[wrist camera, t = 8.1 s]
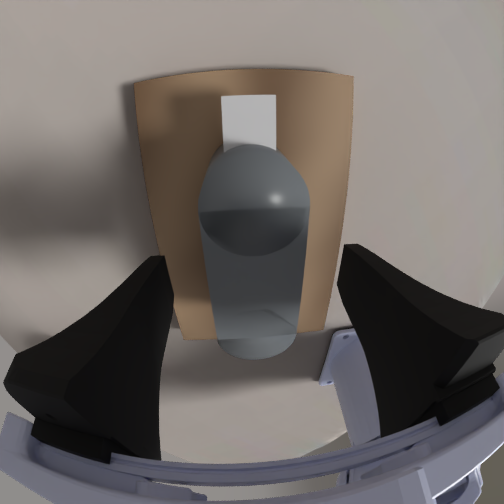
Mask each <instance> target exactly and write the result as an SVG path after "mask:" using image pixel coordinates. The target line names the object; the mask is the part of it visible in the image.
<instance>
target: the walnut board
mask: <svg viewBox="0 0 504 504" xmlns="http://www.w3.org/2000/svg"><path fill="white" fill-rule="evenodd" d="M134 93H135V105H136V116H137V126H138V134H139V142H140V150H141V157H142V164H143V171H144V177H145V183H146V189H147V194H148V200H149V205H150V210H151V216H152V220H153V225H154V230H155V235H156V239H157V244H158V248H159V252H160V256H162V255H165V259H166V264H167V268H168V272H169V276H170V280H171V284H172V288H173V292H174V305H173V306H174V309H175V313H176V316H177V319H178V323H179V326H180V329H181V332H182V335H183V339H184V340H205V339H217V334H216V329H215V323H214V317H213V312H212V306H211V300H210V293H209V287H208V281H207V274H206V267H205V260H204V253H203V246H202V239H201V231H200V223H199V215H198V199H199V195H200V191H201V188H202V184H203V181H204V178H205V175H206V172H207V169H208V166H209V163H210V160H211V158H212V156H213V154H214V152H215V151H216V150H217V149H218V148H219V147H220V146H221V145H222V144H223V127H222V105H221V96H235V95H276V147H277V148H278V150H279V151H280V152H281V153H282V154H283V155H284V156H285V157H286V158H287V160H288V161H289V162H290V163H291V164H292V165H293V167H294V168H295V169H296V170H297V171H298V172H299V174H300V175H301V176H302V178H303V179H304V181H305V183H306V185H307V188H308V191H309V196H310V214H309V226H308V238H307V249H306V259H305V269H304V278H303V287H302V295H301V303H300V311H299V319H298V326H297V333H302V332H310V331H318V330H323V329H324V324H325V320H326V315H327V311H328V306H329V301H330V297H331V292H332V287H333V281H334V276H335V271H336V265H337V259H338V253H339V247H340V241H341V234H342V227H343V220H344V213H345V205H346V196H347V187H348V177H349V167H350V154H351V140H352V122H353V76H349V75H342V74H335V73H326V72H317V71H305V70H288V69H235V70H218V71H206V72H197V73H188V74H181V75H174V76H168V77H162V78H156V79H151V80H146V81H141V82H136V83H134Z"/></svg>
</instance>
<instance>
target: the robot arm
mask: <svg viewBox="0 0 504 504" xmlns="http://www.w3.org/2000/svg"><path fill="white" fill-rule="evenodd" d="M337 286H338V289H339V293H340V296H341V299H342V302H343V305H344V307H345V310H346V312H347V314H348V316H349V318H350V321H351V323H352V325H353V327H354V328H352V329H345V330H339V331H336V332H335V333H334V334H333V336H332V340H331V343H330V347H329V350H328V353H327V357H326V360H325V363H324V366H323V369H322V372H321V376H320V379H319V385H321V386H324V385H330V384H334V385H335V389H336V392H337V396H338V399H339V402H340V406H341V410H342V413H343V417H344V420H345V424H346V428H347V431H348V435H349V438H350V442H351V446H352V447H349V448H345V449H341V450H337V451H332V452H328V453H323V454H318V455H312V456H307V457H301V458H294V459H287V460H279V461H269V462H258V463H240V464H197V463H179V462H169V461H161V451H160V437H159V390H160V376H161V367H162V361H163V356H164V351H165V347H166V342H167V338H168V333H169V329H170V324H171V320H172V314H173V305H174V292H173V288H172V284H171V280H170V276H169V272H168V268H167V264H166V259H165V255H162V256H150V257H149V258H148V259H147V260H145V261H144V262H143V263H142V264H141V265H140V266H139V267H138V268H137V269H136V270H135V271H134V272H133V273H132V274H131V275H130V276H129V277H128V278H127V279H126V280H125V281H124V282H123V283H122V284H121V285H120V286H119V287H118V288H117V289H115V290H114V291H113V292H112V293H111V294H110V295H109V296H108V297H107V298H106V299H105V300H104V301H102V302H101V303H100V304H99V305H98V306H96V307H95V308H94V309H93V310H91V311H90V312H89V313H88V314H86V315H85V316H84V317H82V318H81V319H79V320H78V321H76V322H75V323H73V324H72V325H70V326H69V327H67V328H66V329H65V330H63V331H61V332H60V333H58V334H56V335H55V336H53V337H51V338H49V339H47V340H46V341H44V342H42V343H40V344H38V345H36V346H33V347H31V348H29V349H27V350H25V351H22V352H20V353H18V354H16V355H15V357H14V359H13V362H12V364H11V366H10V368H9V370H8V373H7V375H6V377H5V379H4V382H3V383H4V386H5V388H6V390H7V391H8V393H9V394H10V395H11V396H12V397H13V398H14V399H15V400H16V401H17V402H18V403H19V404H20V405H21V406H23V407H24V408H25V409H26V410H27V411H28V412H29V413H31V414H32V415H33V416H34V417H35V421H34V424H33V423H31V422H29V421H28V420H26V419H24V418H22V417H19V416H17V415H15V414H13V413H11V412H7V415H6V418H5V421H4V425H3V428H2V431H1V435H0V470H1V471H3V472H4V473H6V474H7V475H9V476H10V477H12V478H13V479H15V480H16V481H18V482H19V483H21V484H22V485H24V486H25V487H27V488H29V489H30V490H32V491H33V492H35V493H37V494H38V495H40V496H42V497H43V498H45V499H47V500H49V501H51V502H52V503H54V504H474V503H475V501H476V500H477V498H478V497H479V496H480V494H481V492H482V491H481V487H482V485H483V481H482V477H481V473H480V464H481V463H483V462H484V461H485V460H486V459H487V458H489V457H490V456H491V455H492V454H493V453H494V452H495V451H496V450H497V449H498V448H499V447H500V446H501V445H502V444H503V443H504V372H503V373H502V374H500V375H499V376H498V377H497V378H496V379H495V377H494V376H493V374H492V373H494V372H495V370H496V368H495V366H494V364H493V362H494V361H495V359H496V358H497V357H498V356H499V354H500V353H501V352H502V350H503V349H504V315H503V314H501V313H498V312H494V311H490V310H485V309H481V308H478V307H475V306H472V305H469V304H466V303H463V302H461V301H458V300H455V299H453V298H451V297H448V296H446V295H444V294H442V293H439V292H437V291H435V290H433V289H431V288H429V287H428V286H426V285H424V284H422V283H420V282H418V281H416V280H415V279H413V278H411V277H410V276H408V275H407V274H405V273H403V272H402V271H400V270H398V269H397V268H395V267H394V266H392V265H391V264H389V263H388V262H386V261H385V260H383V259H382V258H380V257H379V256H377V255H376V254H374V253H373V252H371V251H369V250H368V249H366V248H364V247H363V246H361V245H359V244H344V248H343V254H342V260H341V265H340V271H339V276H338V281H337ZM338 472H340V474H339V476H338V478H337V483H336V487H333V488H328V489H324V490H319V491H314V492H308V493H303V494H296V495H290V496H283V497H275V498H265V499H254V500H237V501H207V496H206V495H204V494H199V493H195V492H193V491H191V489H189V488H184V487H177V486H170V485H165V484H160V483H155V482H163V483H171V484H182V485H194V486H250V485H251V486H252V485H265V484H276V483H284V482H291V481H298V480H304V479H310V478H315V477H320V476H325V475H329V474H334V473H338ZM152 481H155V482H152Z"/></svg>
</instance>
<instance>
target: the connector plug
mask: <svg viewBox="0 0 504 504" xmlns="http://www.w3.org/2000/svg"><path fill="white" fill-rule="evenodd" d="M221 105H222V127H223V144H222V145H221V146H220V147H219V148H218V149H217V150H216V151H215V152H214V154H213V156H212V158H211V160H210V163H209V166H208V169H207V172H206V175H205V178H204V181H203V184H202V188H201V191H200V195H199V199H198V215H199V223H200V231H201V239H202V246H203V253H204V260H205V267H206V274H207V281H208V287H209V293H210V300H211V306H212V312H213V317H214V323H215V329H216V334H217V340H218V343H219V345H220V347H221V348H222V349H223V350H224V351H225V352H227V353H228V354H230V355H232V356H234V357H237V358H241V359H248V360H258V359H265V358H269V357H272V356H275V355H277V354H280V353H281V352H283V351H285V350H286V349H287V348H288V347H289V346H290V345H291V344H292V343H293V341H294V340H295V337H296V333H297V326H298V319H299V311H300V303H301V295H302V287H303V278H304V269H305V259H306V249H307V238H308V226H309V214H310V196H309V191H308V188H307V185H306V183H305V181H304V179H303V178H302V176H301V175H300V174H299V172H298V171H297V170H296V169H295V168H294V167H293V165H292V164H291V163H290V162H289V161H288V160H287V158H286V157H285V156H284V155H283V154H282V153H281V152H280V151H279V150H278V148H277V147H276V95H235V96H221Z"/></svg>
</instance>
